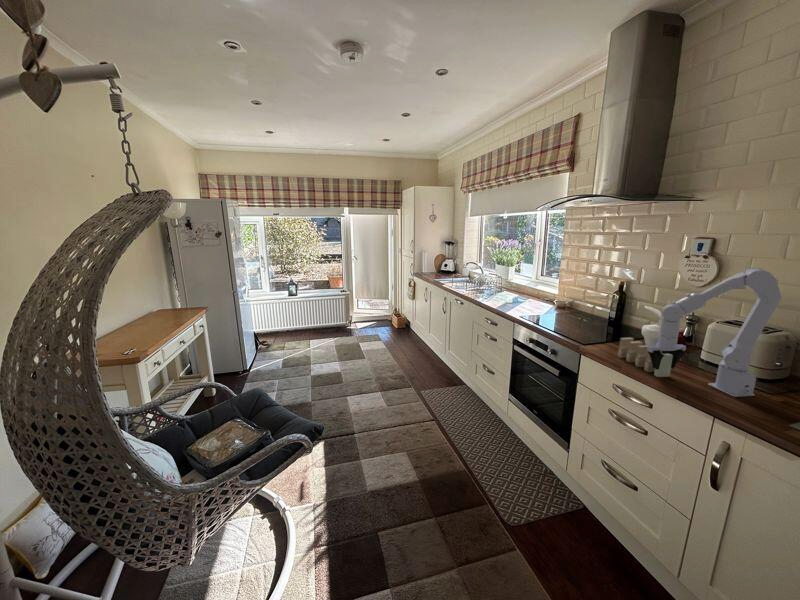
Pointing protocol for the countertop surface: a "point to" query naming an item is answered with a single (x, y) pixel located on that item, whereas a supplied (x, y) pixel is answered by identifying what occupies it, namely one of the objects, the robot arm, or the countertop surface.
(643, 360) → the domino
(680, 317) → the robot arm
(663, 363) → the domino
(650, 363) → the domino
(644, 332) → the potted plant
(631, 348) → the domino
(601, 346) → the countertop surface
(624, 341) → the domino
